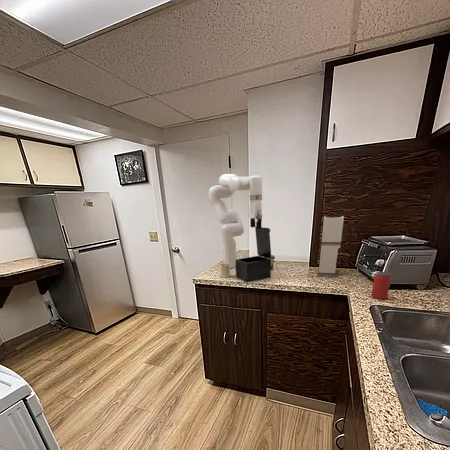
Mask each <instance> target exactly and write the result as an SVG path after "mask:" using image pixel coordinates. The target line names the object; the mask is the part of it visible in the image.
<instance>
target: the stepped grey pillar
mask: <svg viewBox="0 0 450 450" xmlns="http://www.w3.org/2000/svg"><path fill="white" fill-rule="evenodd" d="M344 221H345V217H344V215H341V216H339V217H327V216H323V224H322V235H321V243H320V255H319V266H318V276H319V277H334V278H335V277H338V269H337V261H338V253H339V249H341V246H342V237H343V229H344Z"/></svg>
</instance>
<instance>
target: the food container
mask: <svg viewBox="0 0 450 450" xmlns="http://www.w3.org/2000/svg"><path fill="white" fill-rule="evenodd" d="M261 257H263V256H261ZM265 258H267V257H265ZM268 259H271V271H273V270H274V264H275V259H276V257H275V255H273V254H271V258H268Z"/></svg>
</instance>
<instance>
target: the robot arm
mask: <svg viewBox="0 0 450 450" xmlns="http://www.w3.org/2000/svg"><path fill="white" fill-rule="evenodd" d="M218 184H219V185H213V186H211V187H209V190H208V198H209V201H210V203H211V205H212V207H213V209H214V211H215V214H216V217H217V219H218V221H219V223H220V224H221V227H220V233H221V238H222V247H223V264H230V269H236V261H235V260H236V259H237V242H236V240H235V239H234V237H240V236H242V235H243V234H244V232H245V227H244V224H243V221H242V219H241V216H240V214H239V212H238V211H237V210H235V209H228V208H227V206H226V203H225V202H224V201H223V200H221V199H229V198H231V197H232V196H233V195H234V193H235V192H236V191H248V192H249V193H248V194H249V208H248V214H249V215H248V217H249V220H250V221H249V222H250V228H255V227H256V229H260V228H261V227H262V222H263V207H262V205H263V204H262V201H263V177H262V175H257V174H256V175H251V176H239V175H237V174H235V173H223V174H221V175H220V176H219V178H218Z"/></svg>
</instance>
